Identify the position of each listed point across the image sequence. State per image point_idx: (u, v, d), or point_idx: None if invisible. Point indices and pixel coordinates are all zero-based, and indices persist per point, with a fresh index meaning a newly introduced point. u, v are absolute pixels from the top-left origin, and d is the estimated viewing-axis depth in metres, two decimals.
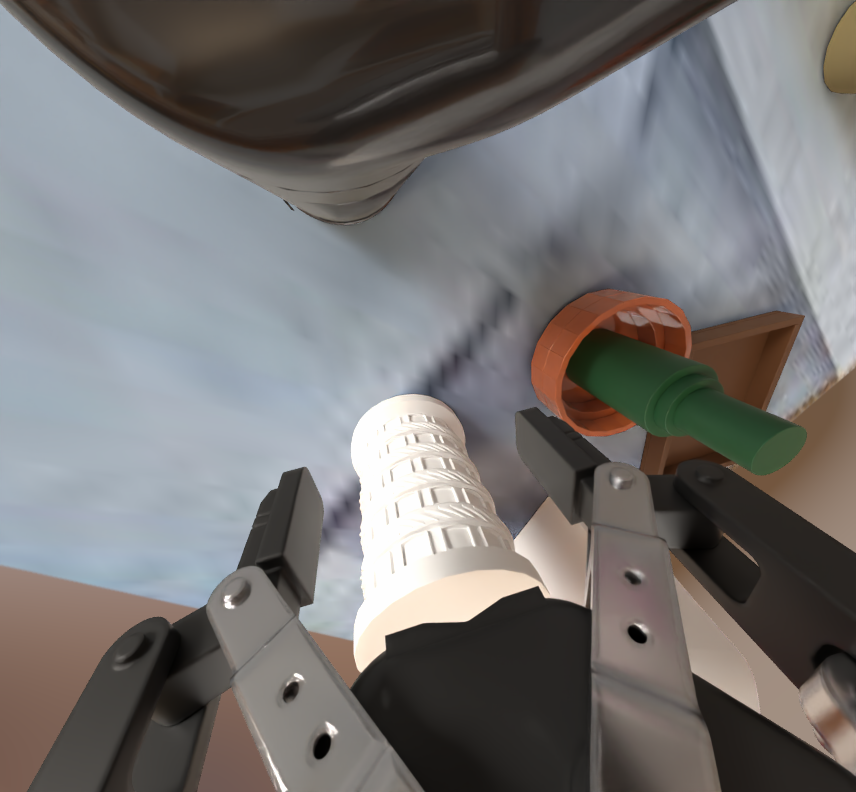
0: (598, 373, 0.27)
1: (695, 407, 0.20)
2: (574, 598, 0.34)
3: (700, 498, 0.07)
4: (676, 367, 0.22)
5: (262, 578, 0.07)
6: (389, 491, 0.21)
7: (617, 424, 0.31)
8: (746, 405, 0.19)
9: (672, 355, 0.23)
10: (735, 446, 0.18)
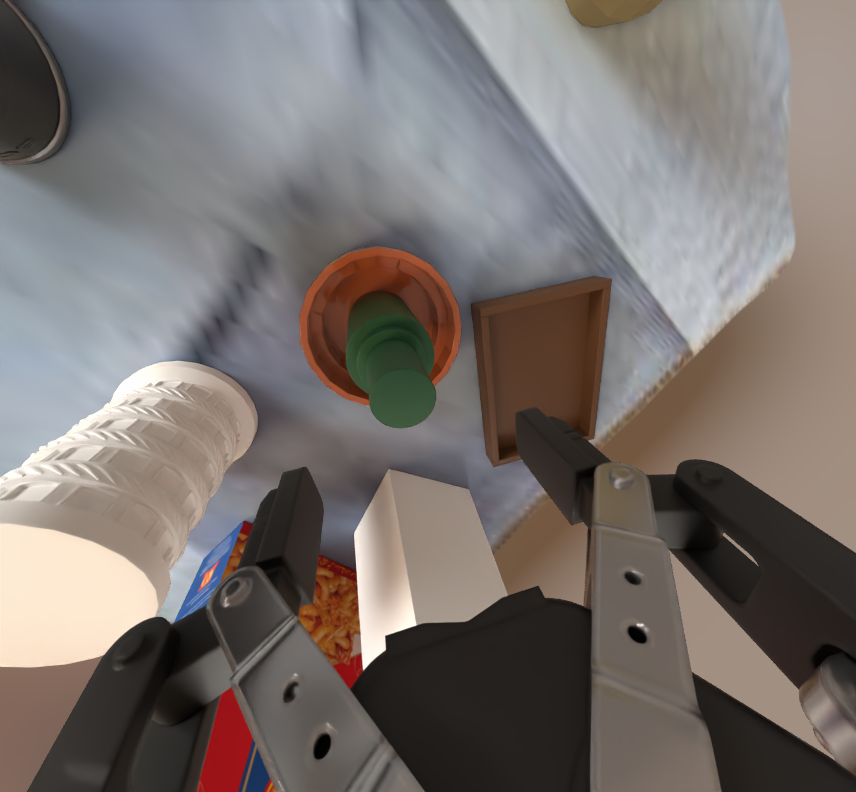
0: None
1: (369, 359, 0.19)
2: (377, 579, 0.32)
3: (700, 498, 0.07)
4: (369, 317, 0.20)
5: (262, 578, 0.07)
6: None
7: None
8: (396, 352, 0.17)
9: (386, 308, 0.21)
10: None
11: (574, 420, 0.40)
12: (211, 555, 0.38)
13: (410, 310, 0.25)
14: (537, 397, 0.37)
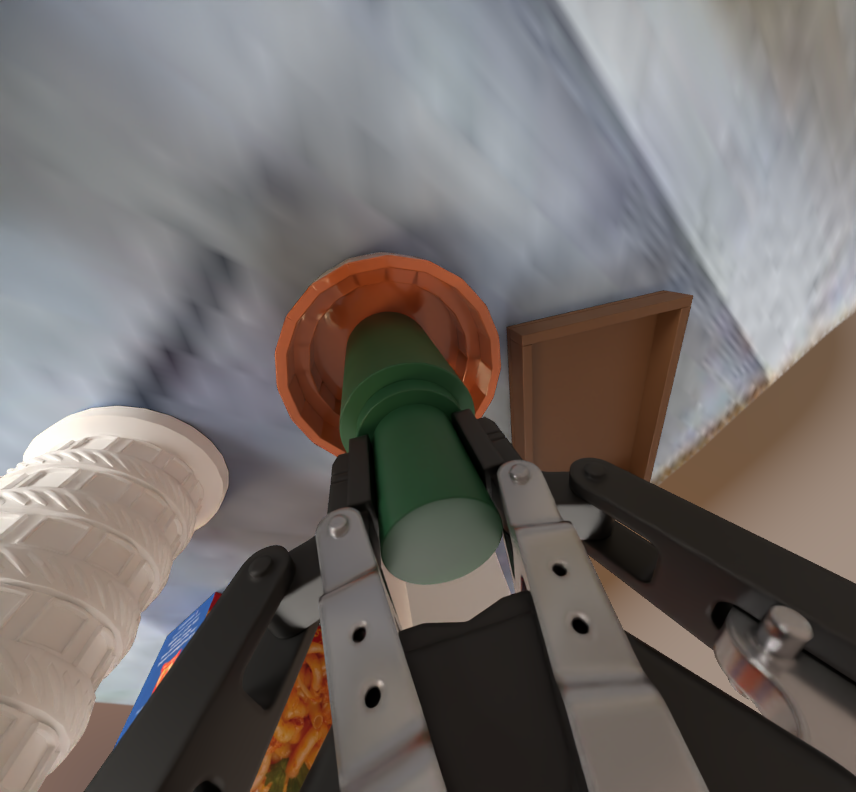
0: None
1: (378, 440, 0.11)
2: None
3: (582, 493, 0.08)
4: (377, 367, 0.13)
5: (359, 516, 0.08)
6: None
7: None
8: (427, 442, 0.10)
9: (401, 347, 0.14)
10: None
11: (623, 464, 0.33)
12: (175, 634, 0.30)
13: (432, 342, 0.18)
14: (581, 439, 0.30)
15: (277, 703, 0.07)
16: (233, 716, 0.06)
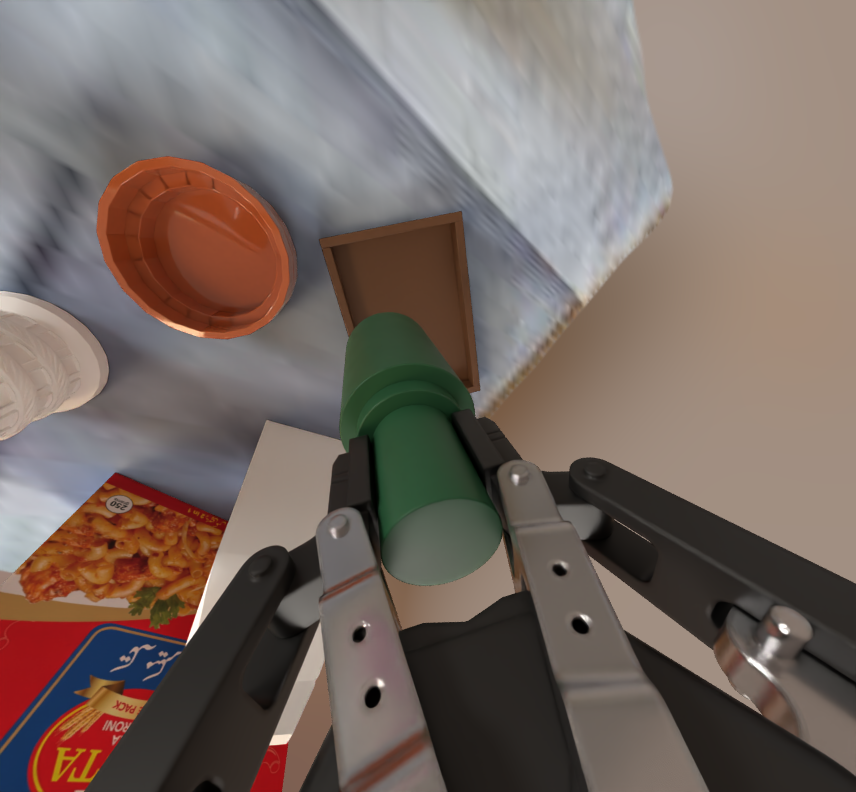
0: None
1: (378, 441, 0.11)
2: None
3: (582, 493, 0.08)
4: (377, 367, 0.13)
5: (359, 516, 0.08)
6: None
7: (244, 327, 0.29)
8: (427, 443, 0.10)
9: (402, 348, 0.14)
10: None
11: (461, 372, 0.40)
12: None
13: (432, 343, 0.18)
14: None
15: (277, 704, 0.07)
16: (233, 716, 0.06)
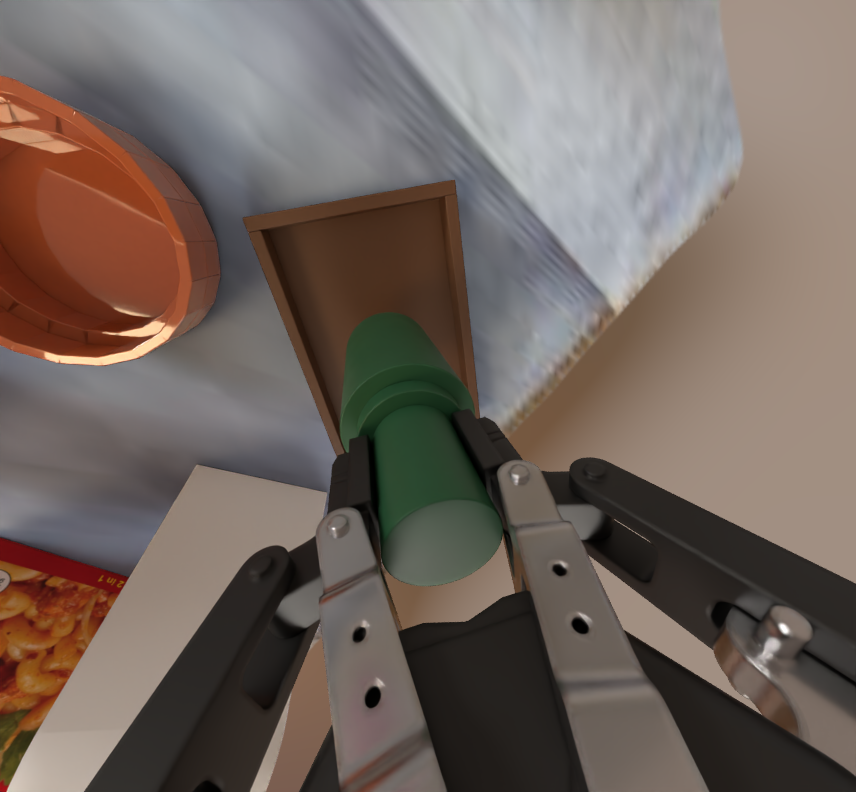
0: None
1: (379, 441, 0.11)
2: None
3: (583, 493, 0.08)
4: (377, 368, 0.13)
5: (359, 516, 0.08)
6: None
7: (131, 348, 0.19)
8: (427, 443, 0.10)
9: (402, 348, 0.14)
10: None
11: None
12: None
13: (433, 343, 0.18)
14: None
15: (277, 704, 0.07)
16: (233, 716, 0.06)
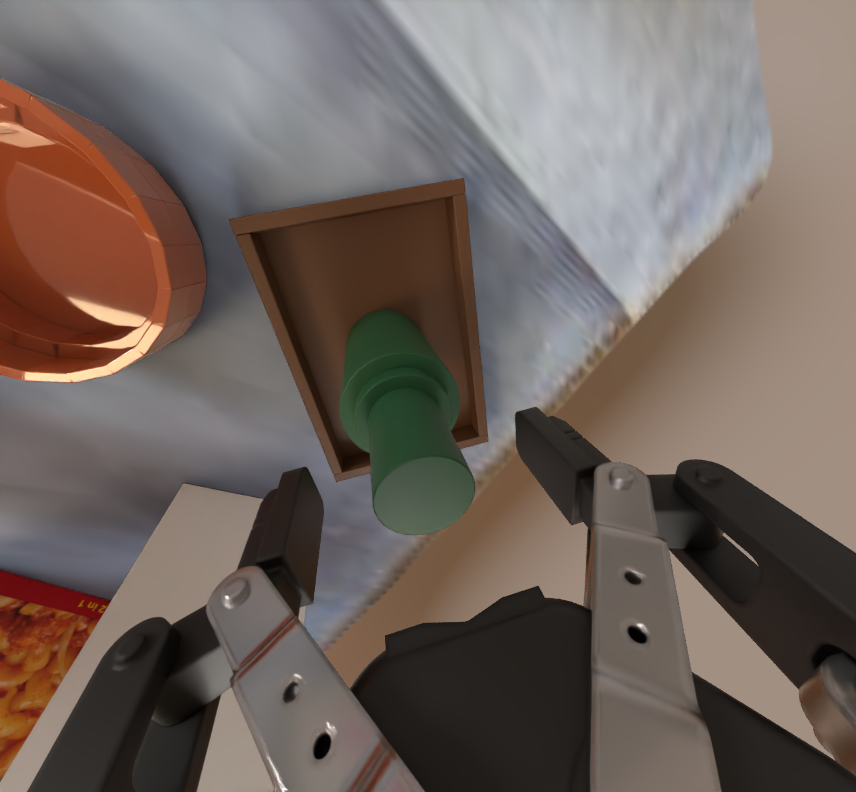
0: None
1: (373, 418, 0.13)
2: None
3: (700, 498, 0.07)
4: (372, 356, 0.14)
5: (262, 578, 0.07)
6: None
7: (105, 362, 0.17)
8: (413, 416, 0.11)
9: (395, 340, 0.16)
10: None
11: (462, 415, 0.28)
12: None
13: (424, 337, 0.20)
14: None
15: None
16: None
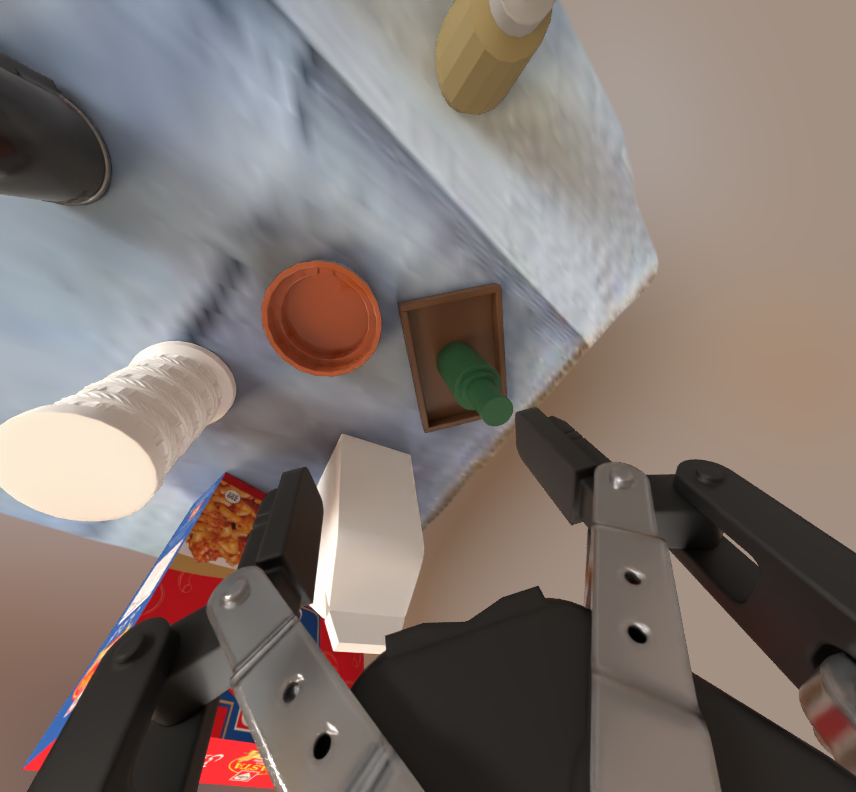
0: (443, 371, 0.41)
1: (472, 389, 0.35)
2: None
3: (700, 498, 0.07)
4: (468, 366, 0.36)
5: (262, 578, 0.07)
6: None
7: (343, 367, 0.40)
8: (490, 387, 0.33)
9: (474, 359, 0.38)
10: (478, 409, 0.33)
11: None
12: (199, 499, 0.48)
13: None
14: None
15: None
16: None
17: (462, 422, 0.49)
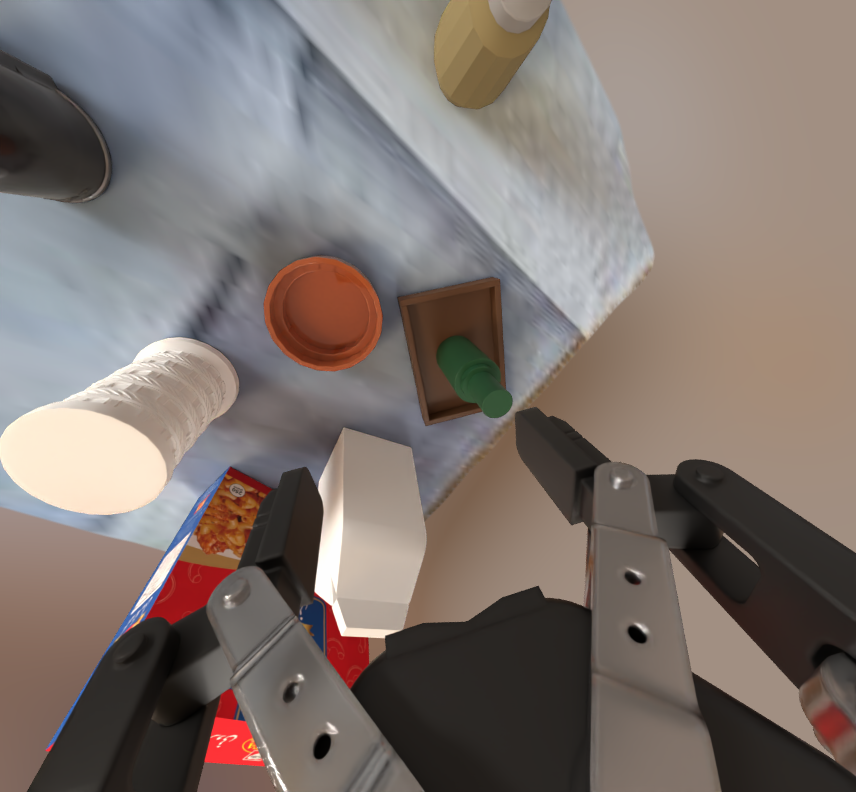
0: (444, 364, 0.42)
1: (472, 382, 0.36)
2: (327, 503, 0.43)
3: (700, 498, 0.07)
4: (468, 359, 0.37)
5: (262, 578, 0.07)
6: (90, 387, 0.30)
7: (345, 362, 0.40)
8: (490, 380, 0.34)
9: (474, 353, 0.39)
10: (479, 402, 0.34)
11: None
12: (204, 493, 0.48)
13: None
14: None
15: None
16: None
17: (462, 415, 0.50)
